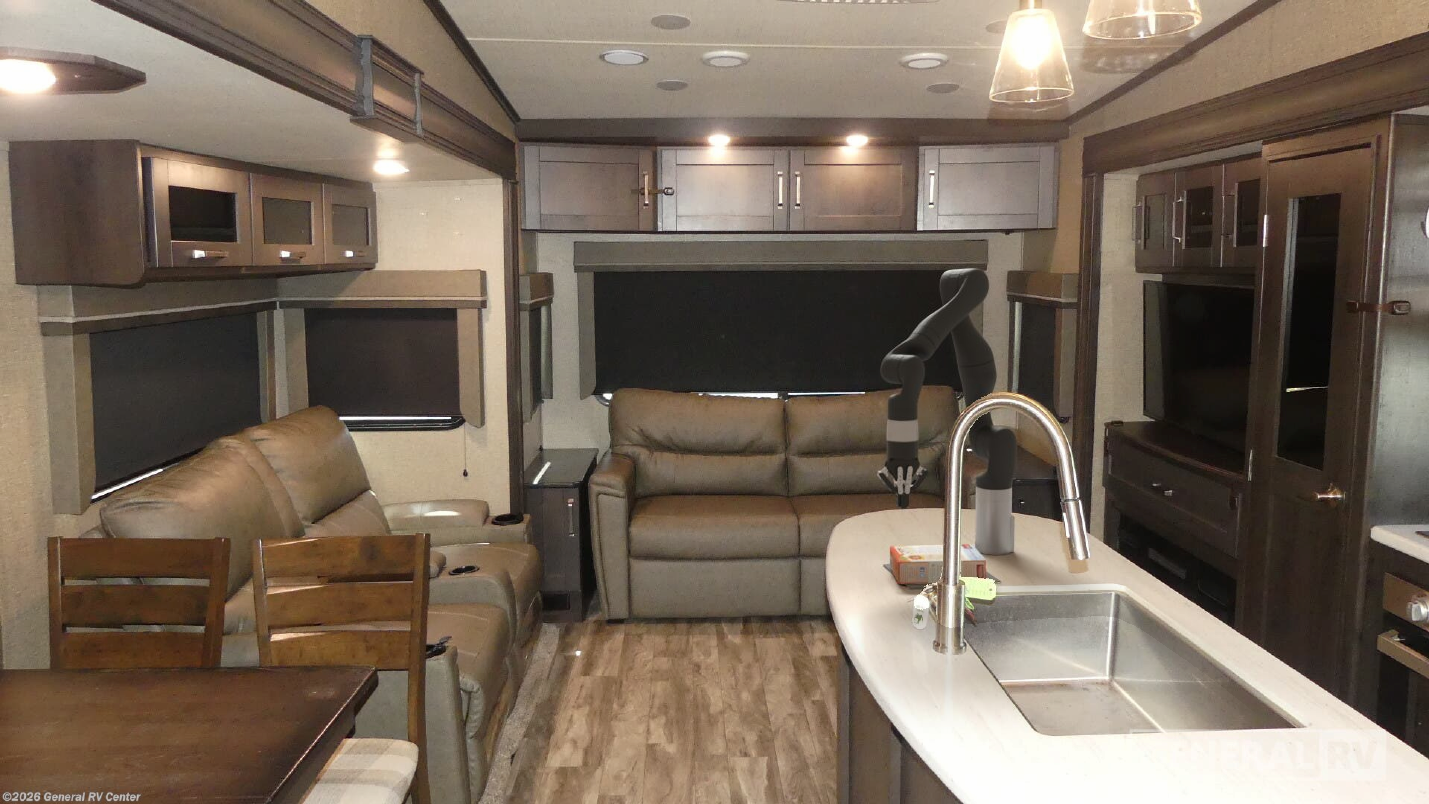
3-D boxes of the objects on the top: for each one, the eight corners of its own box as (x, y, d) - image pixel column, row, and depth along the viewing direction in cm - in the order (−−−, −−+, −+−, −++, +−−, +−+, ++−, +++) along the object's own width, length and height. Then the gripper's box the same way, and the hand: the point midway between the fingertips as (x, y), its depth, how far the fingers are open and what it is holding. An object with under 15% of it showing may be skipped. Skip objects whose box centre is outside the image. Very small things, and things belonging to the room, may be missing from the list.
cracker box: (897, 586, 252) (986, 583, 251) (897, 561, 251) (986, 558, 250) (889, 568, 266) (973, 566, 265) (889, 545, 265) (973, 542, 264)
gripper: (923, 434, 260) (922, 503, 262) (871, 436, 258) (871, 506, 260) (934, 438, 252) (934, 510, 255) (880, 441, 250) (881, 513, 253)
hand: (902, 508), depth 257 cm, fingers closed
